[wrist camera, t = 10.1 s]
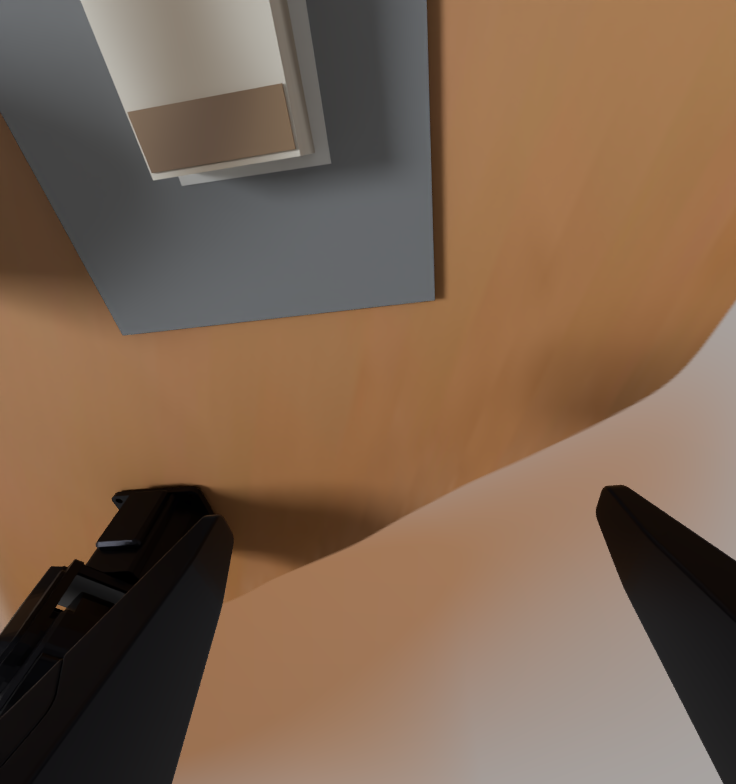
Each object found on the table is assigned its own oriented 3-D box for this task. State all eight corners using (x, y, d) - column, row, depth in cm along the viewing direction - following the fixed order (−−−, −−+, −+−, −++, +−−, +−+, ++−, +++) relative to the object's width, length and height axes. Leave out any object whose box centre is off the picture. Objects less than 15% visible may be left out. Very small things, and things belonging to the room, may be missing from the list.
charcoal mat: (433, 296, 18) (434, 300, 18) (128, 331, 20) (121, 336, 19) (417, -254, 10) (419, -276, 9) (-115, -122, 11) (-138, -134, 11)
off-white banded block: (250, -200, 10) (201, -328, 7) (315, 152, 14) (300, 155, 12) (79, -155, 10) (-28, -259, 8) (193, 173, 15) (151, 180, 12)
